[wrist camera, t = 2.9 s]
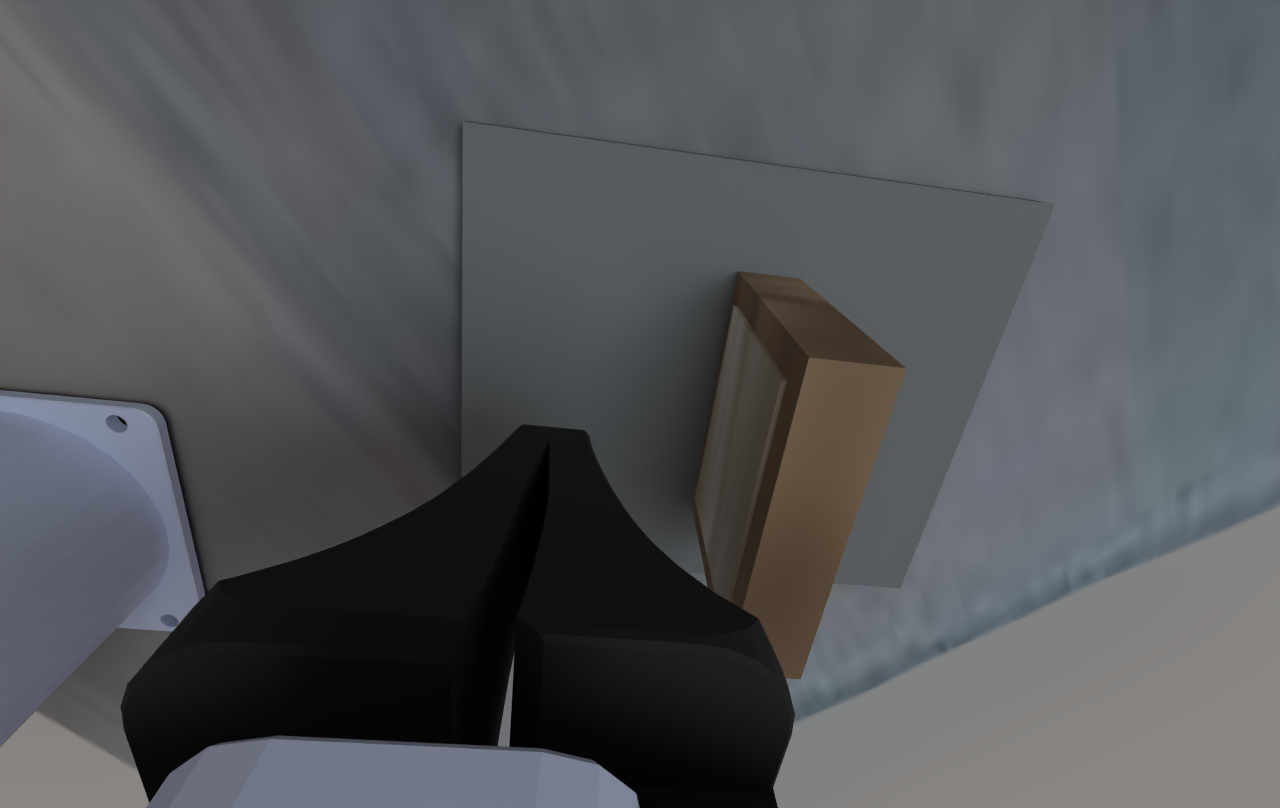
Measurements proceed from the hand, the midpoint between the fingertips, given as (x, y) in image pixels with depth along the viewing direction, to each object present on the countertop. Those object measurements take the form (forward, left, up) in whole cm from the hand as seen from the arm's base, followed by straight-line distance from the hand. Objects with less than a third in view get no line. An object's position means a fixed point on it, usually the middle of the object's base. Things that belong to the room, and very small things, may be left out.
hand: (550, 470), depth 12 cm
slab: (+5, 0, -4) cm, 7 cm away
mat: (+4, 0, -5) cm, 7 cm away
